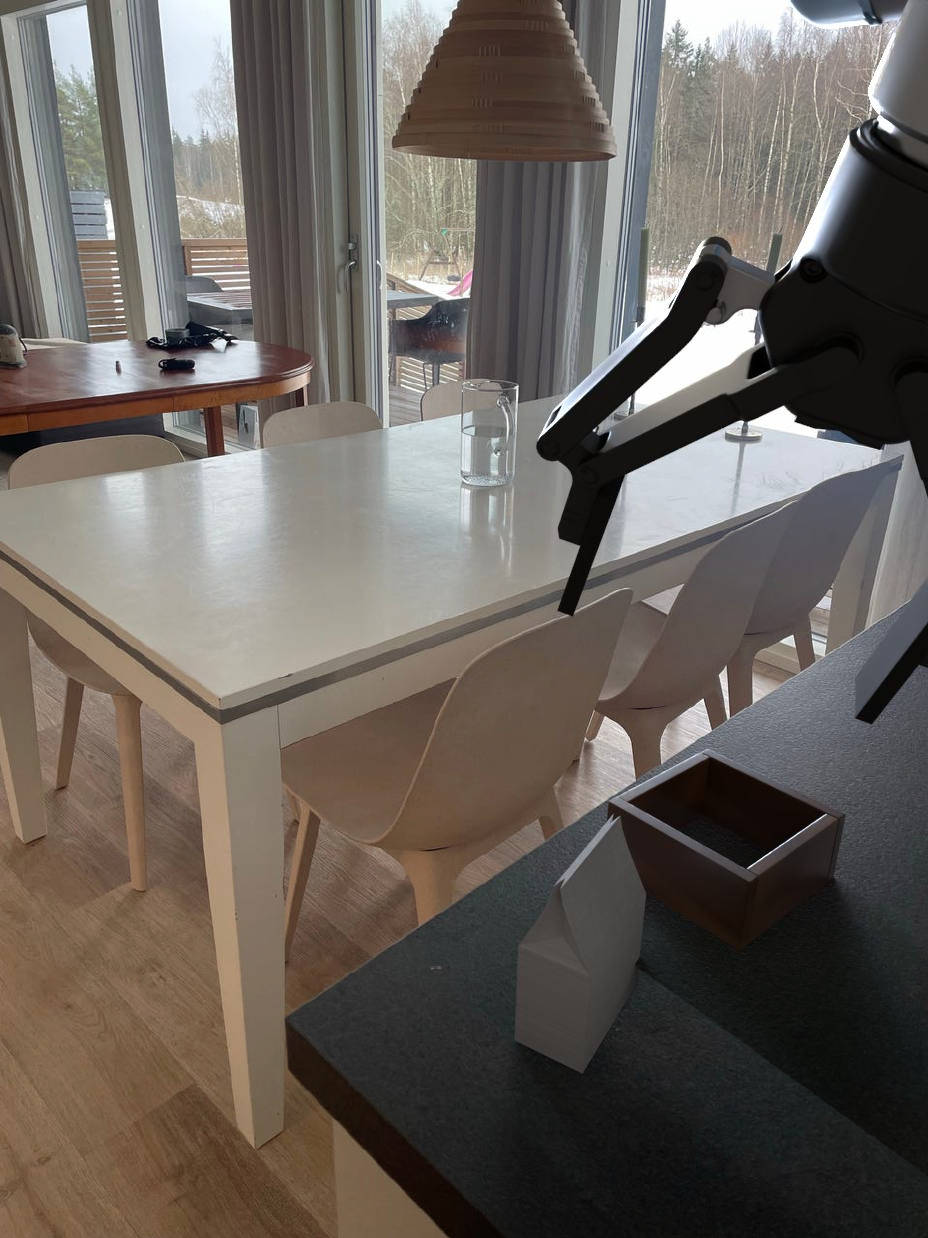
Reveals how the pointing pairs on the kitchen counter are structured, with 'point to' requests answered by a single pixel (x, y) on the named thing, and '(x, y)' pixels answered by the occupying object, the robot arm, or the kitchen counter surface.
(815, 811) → the holder
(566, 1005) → the white faceted block
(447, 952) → the kitchen counter surface
